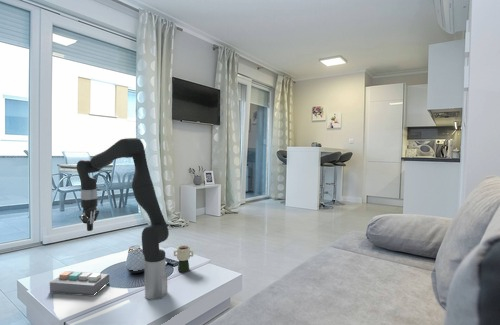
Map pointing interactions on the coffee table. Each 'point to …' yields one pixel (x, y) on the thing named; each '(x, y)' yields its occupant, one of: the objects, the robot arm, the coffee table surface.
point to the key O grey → (84, 276)
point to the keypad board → (78, 285)
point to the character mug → (183, 257)
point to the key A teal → (74, 275)
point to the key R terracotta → (65, 275)
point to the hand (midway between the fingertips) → (90, 230)
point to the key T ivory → (94, 277)
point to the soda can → (134, 248)
